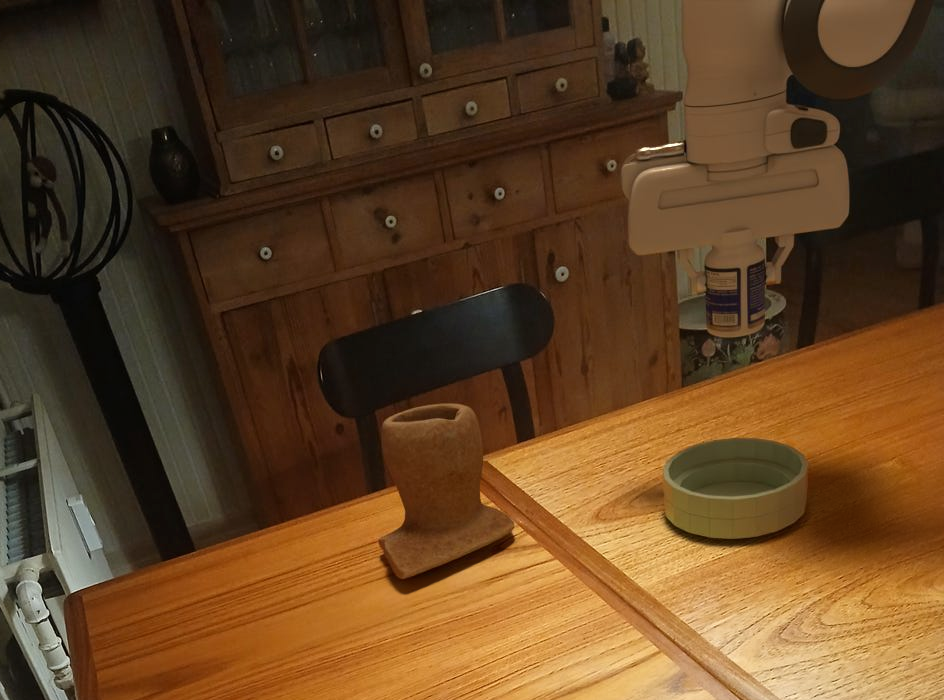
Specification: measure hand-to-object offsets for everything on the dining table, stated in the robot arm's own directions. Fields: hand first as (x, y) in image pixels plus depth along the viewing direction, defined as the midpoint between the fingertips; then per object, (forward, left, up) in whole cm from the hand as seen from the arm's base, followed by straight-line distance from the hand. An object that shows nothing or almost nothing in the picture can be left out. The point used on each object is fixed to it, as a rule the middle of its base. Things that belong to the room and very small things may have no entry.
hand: (735, 287), depth 97 cm
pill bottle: (0, 0, -4) cm, 4 cm away
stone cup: (+32, +9, -21) cm, 39 cm away
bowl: (+1, +7, -21) cm, 22 cm away
